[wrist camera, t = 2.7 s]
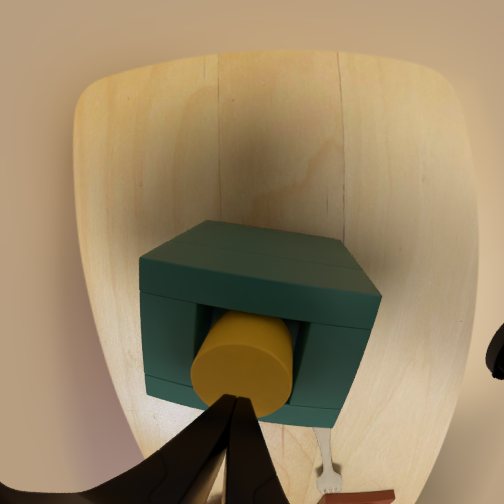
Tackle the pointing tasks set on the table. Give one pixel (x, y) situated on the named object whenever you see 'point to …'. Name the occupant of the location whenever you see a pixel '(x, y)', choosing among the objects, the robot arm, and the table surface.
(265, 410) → the cylinder
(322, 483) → the fork
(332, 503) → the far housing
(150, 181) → the table surface
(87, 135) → the table surface
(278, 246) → the green push button box
